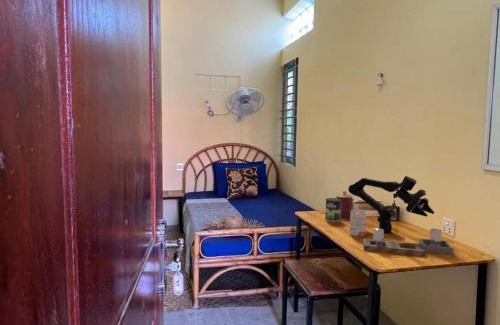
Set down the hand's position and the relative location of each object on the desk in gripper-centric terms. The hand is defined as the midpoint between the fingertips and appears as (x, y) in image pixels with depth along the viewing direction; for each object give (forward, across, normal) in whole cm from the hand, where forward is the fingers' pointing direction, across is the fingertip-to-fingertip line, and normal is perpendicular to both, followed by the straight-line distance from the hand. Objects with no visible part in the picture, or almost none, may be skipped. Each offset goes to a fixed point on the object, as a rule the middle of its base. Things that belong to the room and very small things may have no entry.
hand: (430, 214), depth 191 cm
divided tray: (+1, -28, +17) cm, 33 cm away
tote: (+13, -10, +10) cm, 19 cm away
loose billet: (+13, -10, +10) cm, 19 cm away
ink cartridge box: (-21, -19, +30) cm, 41 cm away
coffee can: (-46, -1, +44) cm, 64 cm away
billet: (-4, -32, +20) cm, 38 cm away
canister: (-49, +17, +45) cm, 69 cm away
